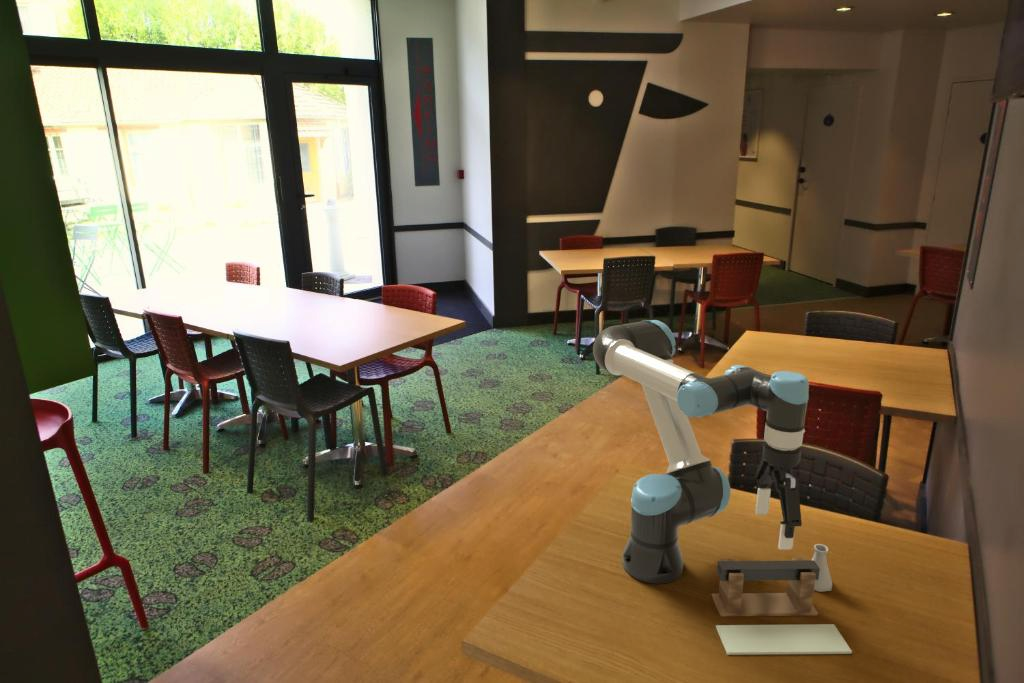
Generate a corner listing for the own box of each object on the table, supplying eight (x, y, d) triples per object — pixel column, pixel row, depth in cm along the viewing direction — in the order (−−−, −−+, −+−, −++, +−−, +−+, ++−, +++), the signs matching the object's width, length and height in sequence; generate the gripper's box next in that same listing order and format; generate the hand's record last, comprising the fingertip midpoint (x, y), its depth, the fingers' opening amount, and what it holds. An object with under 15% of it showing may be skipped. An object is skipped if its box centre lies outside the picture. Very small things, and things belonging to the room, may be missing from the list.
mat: (727, 654, 136) (727, 652, 136) (716, 627, 144) (716, 625, 143) (851, 653, 136) (851, 651, 135) (833, 626, 143) (833, 624, 143)
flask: (836, 594, 153) (841, 558, 150) (803, 591, 155) (808, 555, 152) (828, 575, 160) (833, 540, 157) (797, 572, 162) (801, 537, 159)
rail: (720, 580, 146) (721, 569, 146) (716, 572, 149) (717, 561, 148) (818, 579, 146) (819, 568, 145) (812, 571, 149) (814, 560, 148)
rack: (720, 616, 147) (724, 577, 144) (711, 595, 154) (715, 557, 151) (817, 615, 147) (823, 576, 144) (804, 594, 153) (809, 556, 150)
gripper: (827, 471, 126) (814, 564, 132) (777, 419, 150) (768, 500, 156) (788, 472, 126) (777, 565, 132) (745, 420, 150) (737, 500, 156)
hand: (772, 530), depth 144 cm, fingers open, 13 cm apart
